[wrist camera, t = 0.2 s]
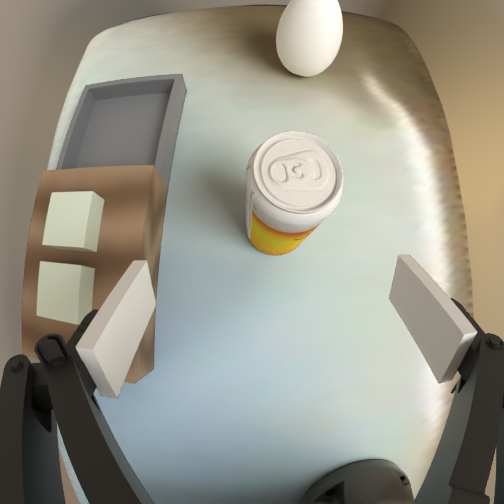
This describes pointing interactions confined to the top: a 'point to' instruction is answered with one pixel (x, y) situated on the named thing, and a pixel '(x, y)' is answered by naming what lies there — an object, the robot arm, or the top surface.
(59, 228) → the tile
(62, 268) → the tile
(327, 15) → the air blower bulb
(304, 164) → the beer can
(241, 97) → the top surface
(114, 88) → the box
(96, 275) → the walnut board
